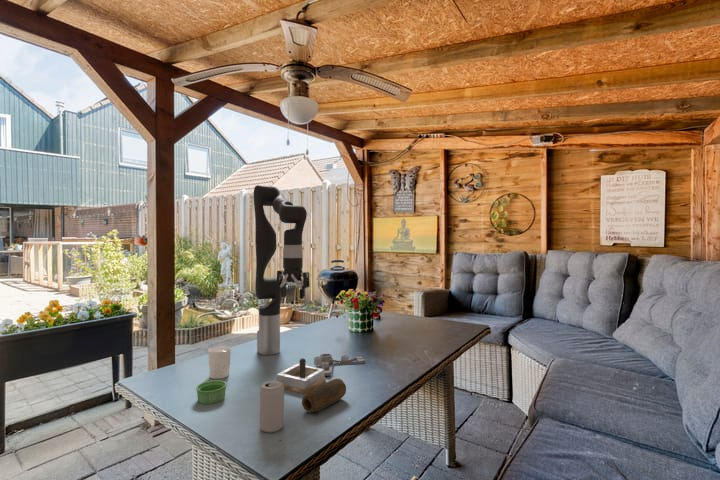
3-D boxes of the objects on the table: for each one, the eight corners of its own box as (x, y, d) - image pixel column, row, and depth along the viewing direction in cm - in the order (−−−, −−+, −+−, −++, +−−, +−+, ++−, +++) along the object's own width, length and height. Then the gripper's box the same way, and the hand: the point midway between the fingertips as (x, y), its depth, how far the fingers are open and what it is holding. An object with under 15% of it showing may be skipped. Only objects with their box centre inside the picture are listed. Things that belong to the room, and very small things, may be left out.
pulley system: (295, 373, 143) (323, 380, 133) (295, 360, 143) (322, 367, 133) (343, 357, 164) (369, 363, 154) (342, 347, 164) (369, 352, 154)
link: (276, 383, 127) (276, 374, 127) (297, 371, 138) (297, 363, 138) (304, 389, 122) (304, 380, 122) (324, 377, 133) (324, 369, 133)
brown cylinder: (330, 394, 122) (330, 374, 122) (347, 399, 118) (347, 378, 118) (299, 412, 109) (299, 389, 109) (317, 418, 105) (317, 395, 105)
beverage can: (262, 422, 103) (262, 379, 103) (285, 421, 104) (285, 379, 103) (257, 434, 97) (257, 389, 97) (282, 433, 97) (282, 388, 97)
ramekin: (232, 394, 121) (232, 381, 121) (215, 406, 112) (215, 392, 112) (208, 391, 123) (208, 378, 123) (189, 403, 114) (189, 389, 114)
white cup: (235, 373, 139) (235, 347, 139) (221, 380, 132) (221, 353, 132) (218, 370, 142) (218, 344, 142) (203, 378, 135) (203, 350, 134)
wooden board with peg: (278, 386, 127) (278, 360, 127) (298, 375, 138) (299, 351, 138) (306, 393, 122) (306, 366, 121) (326, 381, 132) (326, 356, 132)
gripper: (272, 256, 143) (272, 297, 144) (302, 257, 137) (301, 300, 137) (284, 255, 150) (284, 294, 150) (313, 256, 143) (313, 297, 144)
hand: (292, 297), depth 144 cm, fingers open, 8 cm apart
